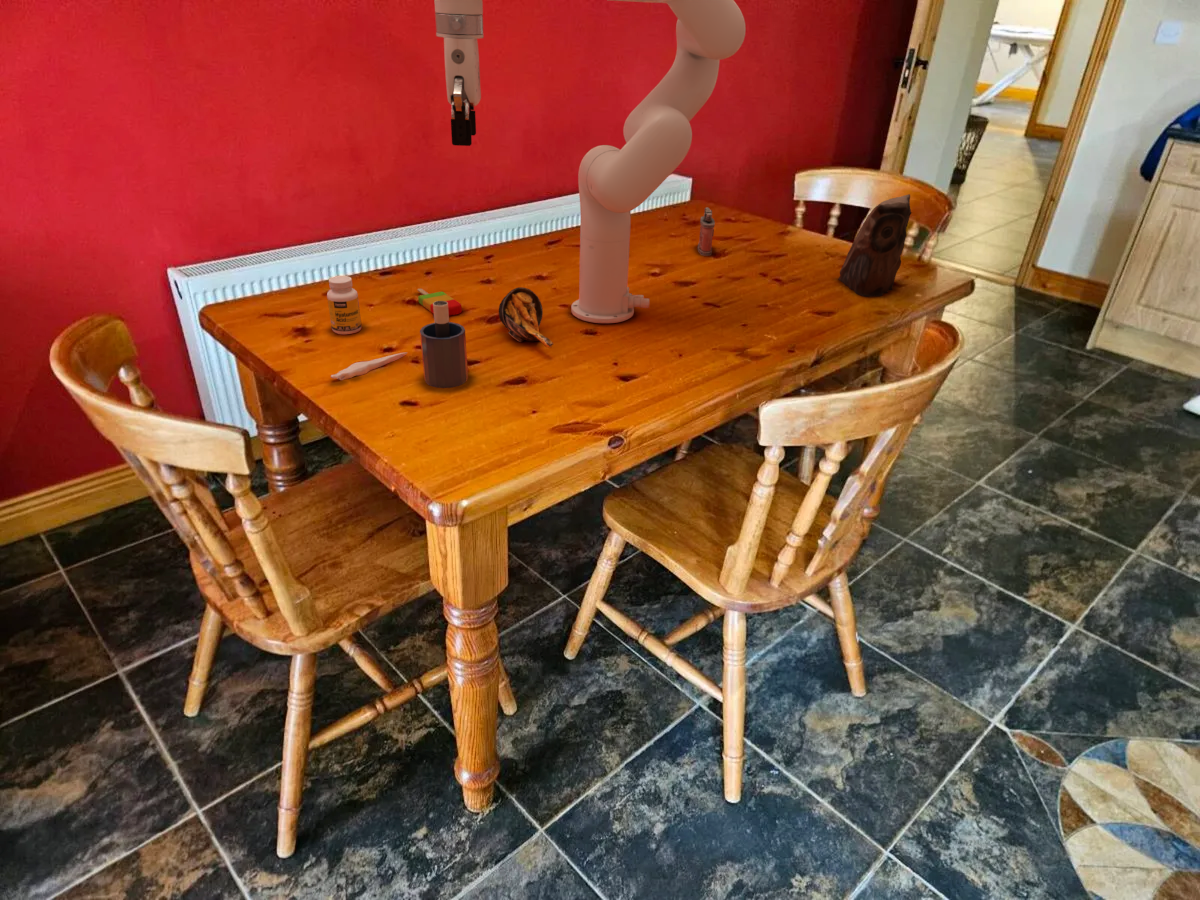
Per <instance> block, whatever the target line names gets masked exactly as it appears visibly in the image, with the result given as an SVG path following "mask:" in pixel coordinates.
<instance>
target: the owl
mask: <svg viewBox="0 0 1200 900" xmlns="http://www.w3.org/2000/svg"><path fill="white" fill-rule="evenodd" d="M910 200H911V194H910V193H909V194H905V195H902V196H897V197H893V198H889V199H886V200H883V201H881V202H880V203H879V204H878V205H876V206H875V207H874V208H873V209H872V210H871V211H870V212H869V214H867V217H866V218H865V220H864V221H863V223H862V226H861V228H860V229H859V231H858V233H857V234H856V237H855V239H854V240H853V242H852V244H851V246H850V248H849V250H848V252H847V254H846V257H845V260H844V262H843V265H842V267H841V268H840V270H839V276H838V278H837V280H838V281H840V283H843V285H845V286H847V287H848V288H849V289H850V290H852V291H853V292H854V293H855V294H856V295H859V296H861V297H865V298H870V297H871V298H873V297H882V296H883V295H884V294H888V293H889V291H893V286H894V284H895V280H896V276H897V273H898V271H899V269H900V268H901V266H902V265H901V264H902V259H901V256H902V254H903V251H904V248H905V242H906V238H907V227H908V225H909V220H910V217H911V215H912V210H911V202H910Z"/></svg>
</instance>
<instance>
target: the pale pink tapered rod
mask: <svg viewBox="0 0 1200 900" xmlns="http://www.w3.org/2000/svg"><path fill="white" fill-rule="evenodd" d="M407 354H408V352H399V353H394V354H391V355H387V356H383V357H379V358H374V359H371V360H367V361H357V362H353V363H352V364H350V365H349V366H347V367H346V368H344V369H342V370H339V371H338V372H337V373H335V374H331V375H330V378H331V379H337V380H340V381H343V380H346V379H347V380H348V379H351V378H353V377H355V376H357V377H360V376H364V375H365V374H368V373H369V372H370V371H373V370H376V369H378V368H381V367H383V366H385V365H388V364H389V363H392V362H395V361H398V360H399V359H401V358H403V357H405V355H407Z"/></svg>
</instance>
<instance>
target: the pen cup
mask: <svg viewBox="0 0 1200 900" xmlns="http://www.w3.org/2000/svg"><path fill="white" fill-rule="evenodd" d="M449 330H450V337H446V338H436V331H435V322H432V323H428V324H426V325H424V326H422V327H421V328H420V330H419V337H420V349H421V358H422V370H423V379H424V382H425V384H427V385H428V386H430V387H433V388H438V389H450V388H456V387H459V386H462V385H464V384H465V383H466V382H467V381H468V379H469V371H468V369H469V367H468V354H467V353H468V352H467V339H466V337H467V336H466V329H465V327H464V325H461V324H460V323H457V322H453V321H449Z"/></svg>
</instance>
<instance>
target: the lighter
mask: <svg viewBox="0 0 1200 900" xmlns="http://www.w3.org/2000/svg"><path fill="white" fill-rule="evenodd" d="M715 221H716V220H715V219H714V218H713V210H712V209H710V207H707V206H706V207H705V208H704V212H703V216H700V220H699V223H700V229H699V240H698V243H697V252H698V253H699V255H701V256H703V257H704V256H705V257H706V256H707V257H708V256H712V252H713V247H712V244H713V237H714V232H715V229H714V228H715V223H716V222H715Z"/></svg>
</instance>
